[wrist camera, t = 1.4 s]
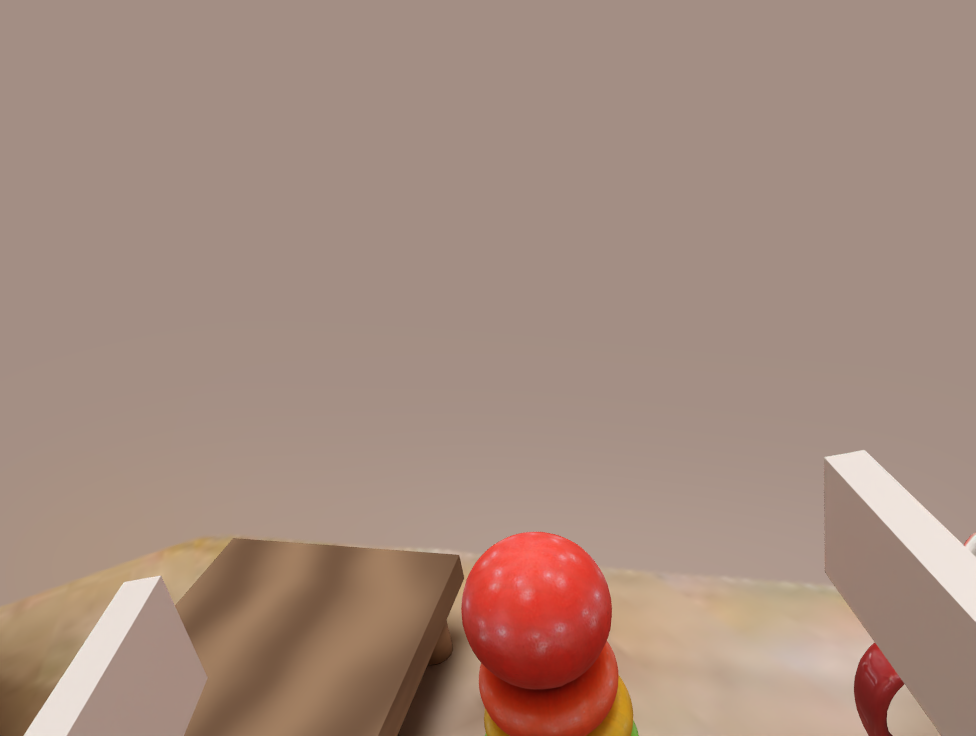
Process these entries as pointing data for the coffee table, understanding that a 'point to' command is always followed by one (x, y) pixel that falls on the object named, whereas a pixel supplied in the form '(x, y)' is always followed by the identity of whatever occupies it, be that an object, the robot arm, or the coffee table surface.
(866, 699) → the mug
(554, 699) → the stacking toy
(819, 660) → the coffee table surface
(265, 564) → the footstool
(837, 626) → the coffee table surface
